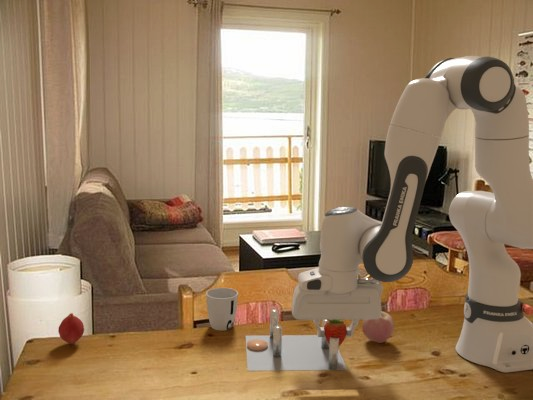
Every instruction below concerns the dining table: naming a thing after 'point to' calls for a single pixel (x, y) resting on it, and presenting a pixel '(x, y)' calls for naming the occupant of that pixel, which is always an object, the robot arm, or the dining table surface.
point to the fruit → (335, 330)
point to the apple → (379, 328)
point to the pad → (257, 345)
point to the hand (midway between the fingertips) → (334, 336)
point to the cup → (222, 307)
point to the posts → (334, 342)
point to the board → (291, 354)
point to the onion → (71, 329)
